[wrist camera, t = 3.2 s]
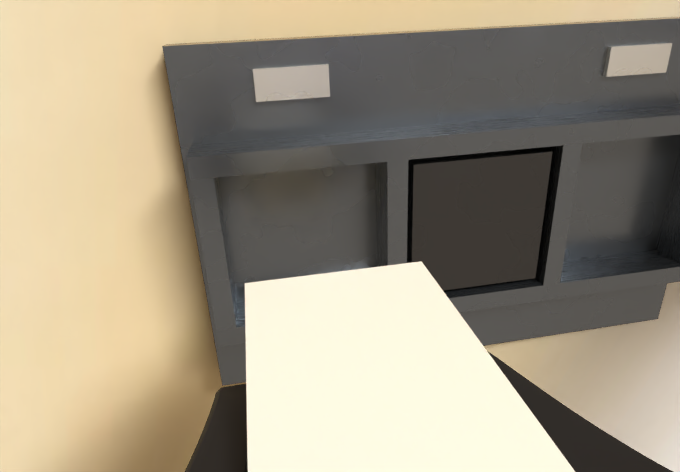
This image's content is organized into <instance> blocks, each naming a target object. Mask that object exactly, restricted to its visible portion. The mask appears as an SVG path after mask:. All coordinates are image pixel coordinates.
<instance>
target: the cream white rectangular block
mask: <svg viewBox="0 0 680 472" xmlns="http://www.w3.org/2000/svg"><path fill="white" fill-rule="evenodd" d="M245 334H246V396H247V459H248V472H575V471H574V469H573V468H572V467H571V465H570V464H569V463H568V461H567V460H566V458H565V457H564V456H563V454H562V453H561V452H560V450H559V449H558V448H557V446H556V445H555V443H554V442H553V441H552V439H551V438H550V437H549V435H548V434H547V432H546V431H545V430H544V428H543V427H542V426H541V424H540V423H539V422H538V420H537V419H536V417H535V416H534V415H533V413H532V412H531V411H530V409H529V408H528V406H527V405H526V404H525V402H524V401H523V400H522V398H521V397H520V395H519V394H518V393H517V391H516V390H515V389H514V387H513V386H512V385H511V383H510V382H509V380H508V379H507V378H506V376H505V375H504V374H503V372H502V371H501V369H500V368H499V367H498V365H497V364H496V363H495V361H494V360H493V359H492V357H491V356H490V354H489V353H488V352H487V350H486V349H485V348H484V346H483V345H482V343H481V342H480V341H479V339H478V338H477V337H476V335H475V334H474V333H473V331H472V330H471V328H470V327H469V326H468V324H467V323H466V322H465V320H464V319H463V317H462V316H461V315H460V313H459V312H458V311H457V309H456V308H455V307H454V305H453V304H452V302H451V301H450V300H449V298H448V297H447V296H446V294H445V293H444V291H443V290H442V289H441V287H440V286H439V285H438V283H437V282H436V281H435V279H434V278H433V276H432V275H431V274H430V272H429V271H428V270H427V268H426V267H425V265H424V264H423V263H422V261H420V262H412V263H404V264H396V265H388V266H380V267H372V268H364V269H356V270H348V271H339V272H331V273H323V274H315V275H307V276H299V277H291V278H283V279H275V280H267V281H259V282H251V283H245Z"/></svg>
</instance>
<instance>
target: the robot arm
mask: <svg viewBox="0 0 680 472" xmlns="http://www.w3.org/2000/svg"><path fill="white" fill-rule="evenodd" d="M487 352H488V351H487ZM488 353H489V352H488ZM489 354H490V356H491V357H492V359H493V360H494V361H495V363H496V364H497V365H498V367H499V368H500V369H501V371H502V372H503V374H504V375H505V376H506V378H507V379H508V380H509V382H510V383H511V385H512V386H513V387H514V389H515V390H516V391H517V393H518V394H519V395H520V397H521V398H522V400H523V401H524V402H525V404H526V405H527V406H528V408H529V409H530V411H531V412H532V413H533V415H534V416H535V417H536V419H537V420H538V422H539V423H540V424H541V426H542V427H543V428H544V430H545V431H546V432H547V434H548V435H549V437H550V438H551V439H552V441H553V442H554V443H555V445H556V446H557V448H558V449H559V450H560V452H561V453H562V454H563V456H564V457H565V458H566V460H567V461H568V463H569V464H570V465H571V467H572V468H573V469H574V471H575V472H673V471H671V470H669V469H667V468H665V467H663V466H662V465H660V464H658V463H656V462H654V461H653V460H651V459H649V458H647V457H646V456H644V455H642V454H640V453H639V452H637V451H635V450H634V449H632V448H630V447H629V446H627V445H625V444H624V443H622V442H621V441H619V440H617V439H616V438H614V437H612V436H611V435H609V434H608V433H606V432H604V431H603V430H601V429H599V428H598V427H596V426H595V425H593V424H592V423H590V422H589V421H587V420H585V419H584V418H582V417H581V416H579V415H578V414H576V413H575V412H573V411H572V410H570V409H569V408H567V407H566V406H564V405H563V404H562V403H560V402H559V401H557V400H556V399H554V398H553V397H551V396H550V395H548V394H547V393H546V392H544V391H543V390H541V389H540V388H538V387H537V386H536V385H534V384H533V383H531V382H530V381H529V380H527V379H526V378H524V377H523V376H522V375H520V374H519V373H517V372H516V371H515V370H513V369H512V368H511V367H509V366H508V365H506V364H505V363H504V362H502V361H501V360H499V359H498V358H497V357H495V356H494V355H492V354H491V353H489ZM185 472H248V459H247V396H246V384H242V385H235V386H229V387H222V388H220V390H219V391H218V392H217V393H216V395H215V399H214V402H213V405H212V408H211V411H210V414H209V417H208V419H207V422H206V424H205V427H204V430H203V432H202V434H201V437H200V439H199V442H198V444H197V446H196V449H195V451H194V453H193V455H192V457H191V459H190V462H189V464H188V466H187V468H186V470H185Z"/></svg>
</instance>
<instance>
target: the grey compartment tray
mask: <svg viewBox="0 0 680 472" xmlns="http://www.w3.org/2000/svg"><path fill="white" fill-rule="evenodd" d="M163 52H164V58H165V63H166V69H167V75H168V80H169V86H170V92H171V97H172V103H173V109H174V114H175V120H176V126H177V131H178V137H179V142H180V148H181V154H182V159H183V165H184V171H185V176H186V182H187V188H188V193H189V199H190V205H191V210H192V216H193V222H194V227H195V233H196V239H197V244H198V250H199V256H200V261H201V267H202V273H203V278H204V284H205V290H206V295H207V301H208V307H209V312H210V318H211V324H212V329H213V335H214V341H215V346H216V352H217V358H218V363H219V369H220V375H221V380H222V386H223V385H229V384H236V383H242V382H246V334H245V283H251V282H259V281H267V280H275V279H283V278H291V277H299V276H307V275H315V274H323V273H331V272H339V271H348V270H356V269H364V268H372V267H380V266H388V265H396V264H404V263H412V262H420V261H422V263H423V264H424V265H425V267H426V268H427V270H428V271H429V272H430V274H431V275H432V276H433V278H434V279H435V281H436V282H437V283H438V285H439V286H440V287H441V289H442V290H443V291H444V293H445V294H446V296H447V297H448V298H449V300H450V301H451V302H452V304H453V305H454V307H455V308H456V309H457V311H458V312H459V313H460V315H461V316H462V317H463V319H464V320H465V322H466V323H467V324H468V326H469V327H470V328H471V330H472V331H473V333H474V334H475V335H476V337H477V338H478V339H479V341H480V342H481V343H482V345H483V346H484V345H490V344H497V343H504V342H510V341H517V340H523V339H530V338H536V337H543V336H549V335H556V334H562V333H569V332H575V331H582V330H588V329H595V328H602V327H608V326H615V325H621V324H628V323H634V322H641V321H647V320H654V319H658V316H659V312H660V308H661V304H662V301H663V297H664V293H665V289H666V285H667V283H671V282H679V281H680V17H668V18H650V19H631V20H613V21H594V22H575V23H557V24H538V25H520V26H501V27H482V28H464V29H445V30H427V31H408V32H389V33H371V34H352V35H334V36H315V37H296V38H278V39H259V40H241V41H222V42H203V43H185V44H167V45H164V46H163Z"/></svg>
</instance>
